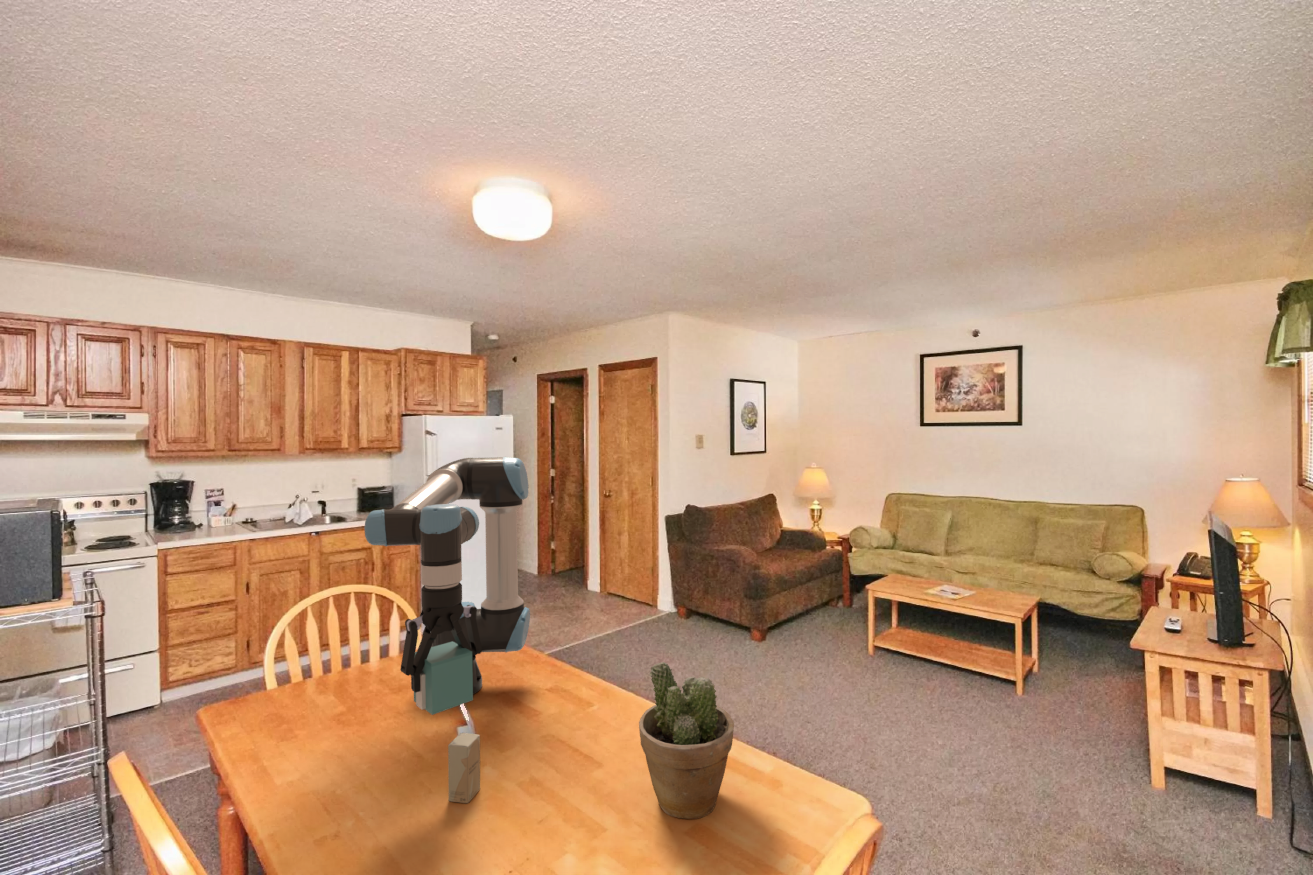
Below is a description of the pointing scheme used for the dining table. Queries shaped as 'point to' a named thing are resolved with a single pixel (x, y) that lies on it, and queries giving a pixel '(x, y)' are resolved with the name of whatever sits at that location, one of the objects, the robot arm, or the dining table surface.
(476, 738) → the box
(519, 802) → the dining table surface
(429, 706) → the teal block
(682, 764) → the potted plant
